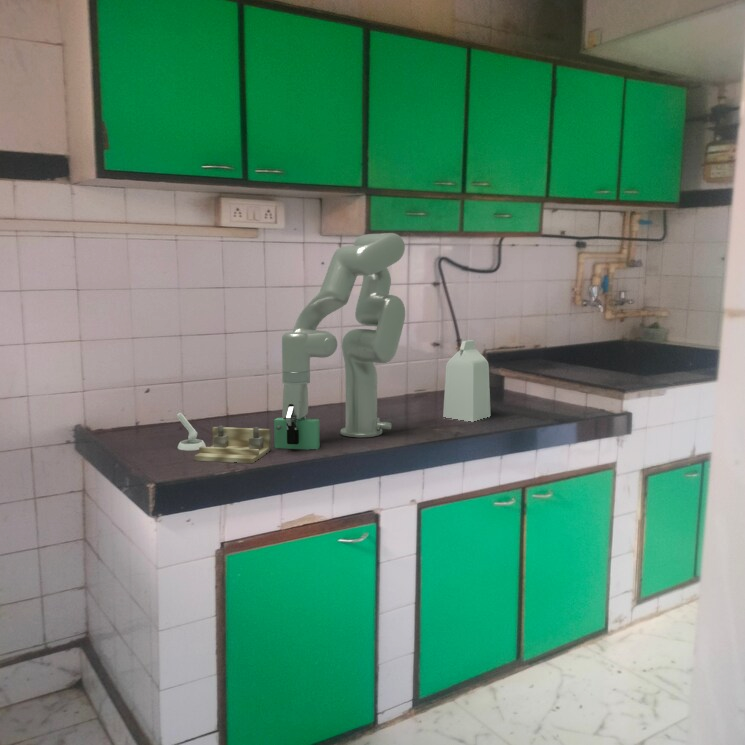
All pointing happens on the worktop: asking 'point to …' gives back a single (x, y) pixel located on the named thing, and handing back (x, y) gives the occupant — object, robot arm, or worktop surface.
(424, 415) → the worktop surface
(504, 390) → the worktop surface
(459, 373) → the milk
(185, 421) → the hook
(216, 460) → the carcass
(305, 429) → the door
